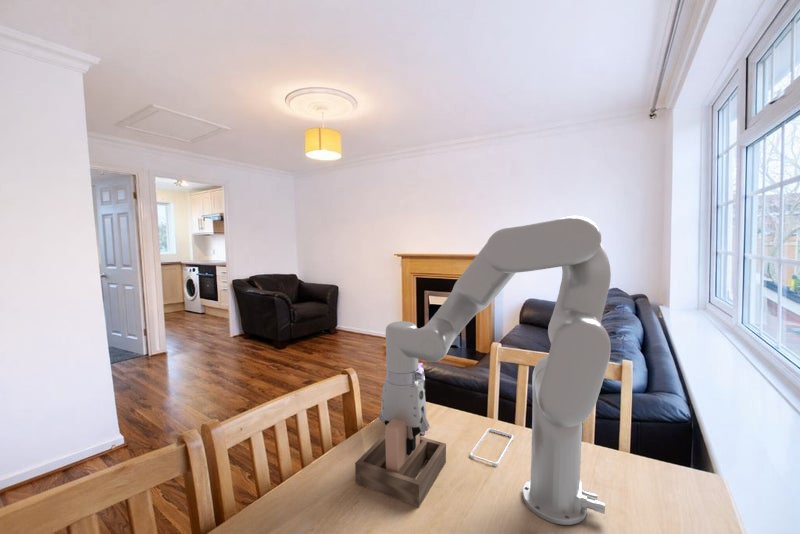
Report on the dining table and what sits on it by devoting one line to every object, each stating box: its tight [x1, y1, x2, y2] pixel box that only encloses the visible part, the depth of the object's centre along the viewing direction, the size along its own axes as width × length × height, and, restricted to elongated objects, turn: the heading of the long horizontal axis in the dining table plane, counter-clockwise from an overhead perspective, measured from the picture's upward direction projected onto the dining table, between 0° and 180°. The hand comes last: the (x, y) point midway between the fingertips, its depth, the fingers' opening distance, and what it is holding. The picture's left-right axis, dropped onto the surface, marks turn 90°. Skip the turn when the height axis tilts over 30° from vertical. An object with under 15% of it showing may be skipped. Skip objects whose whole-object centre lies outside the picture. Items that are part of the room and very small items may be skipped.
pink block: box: [384, 419, 421, 473], centre depth 85 cm, size 3×12×14 cm, turn 153°
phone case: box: [469, 427, 514, 467], centre depth 96 cm, size 7×1×15 cm
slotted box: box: [354, 432, 447, 508], centre depth 85 cm, size 16×16×5 cm
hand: (403, 449), depth 85 cm, fingers closed on pink block, 3 cm apart
